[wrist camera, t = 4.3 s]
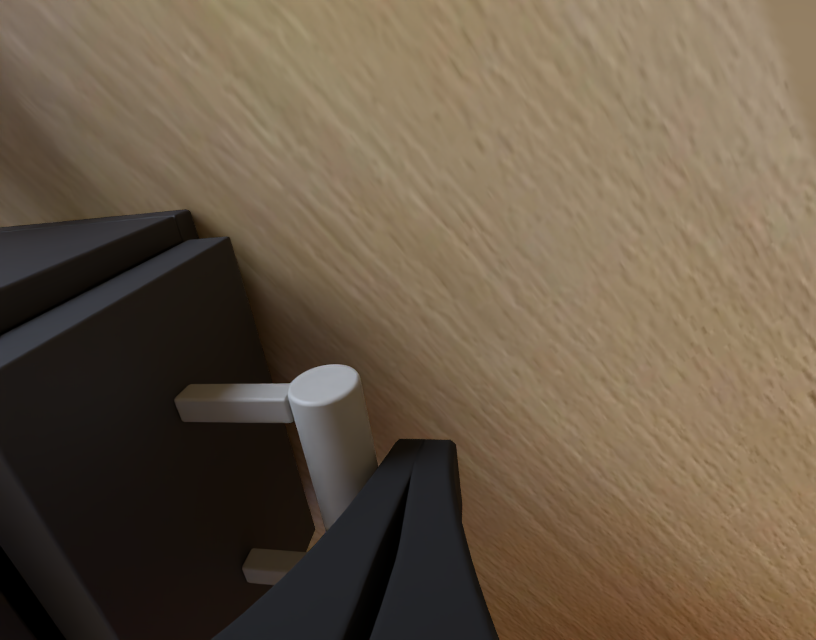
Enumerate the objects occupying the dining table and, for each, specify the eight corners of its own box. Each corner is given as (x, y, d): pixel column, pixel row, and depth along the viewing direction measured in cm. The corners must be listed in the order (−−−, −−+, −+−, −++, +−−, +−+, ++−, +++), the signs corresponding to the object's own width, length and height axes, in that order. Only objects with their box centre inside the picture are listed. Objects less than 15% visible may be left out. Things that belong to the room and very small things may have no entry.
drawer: (382, 223, 11) (240, 389, 5) (430, 536, 15) (382, 820, 10) (-87, 261, 14) (-508, 392, 8) (63, 513, 19) (-143, 716, 13)
